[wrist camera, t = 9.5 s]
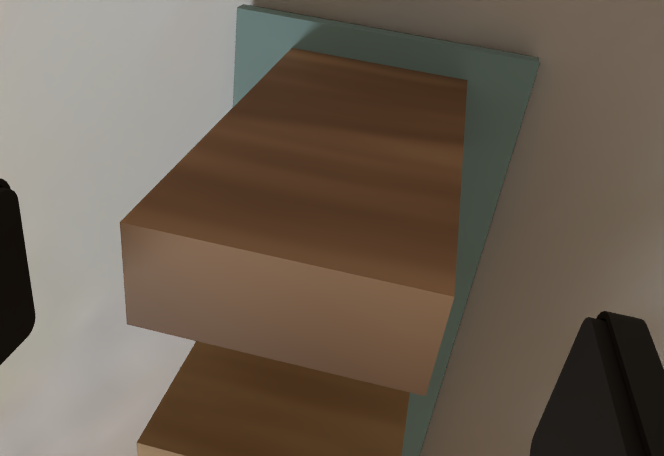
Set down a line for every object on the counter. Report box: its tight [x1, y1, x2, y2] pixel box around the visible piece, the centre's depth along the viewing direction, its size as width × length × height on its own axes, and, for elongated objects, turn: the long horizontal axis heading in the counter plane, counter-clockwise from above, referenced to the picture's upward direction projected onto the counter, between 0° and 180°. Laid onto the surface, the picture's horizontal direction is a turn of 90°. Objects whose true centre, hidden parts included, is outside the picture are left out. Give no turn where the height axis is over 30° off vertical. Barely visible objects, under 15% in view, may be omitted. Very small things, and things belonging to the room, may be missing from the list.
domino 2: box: [137, 341, 410, 456], centre depth 16 cm, size 2×5×10 cm, turn 83°
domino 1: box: [120, 48, 467, 396], centre depth 14 cm, size 2×5×10 cm, turn 83°
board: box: [233, 4, 540, 456], centre depth 23 cm, size 24×8×1 cm, turn 173°
